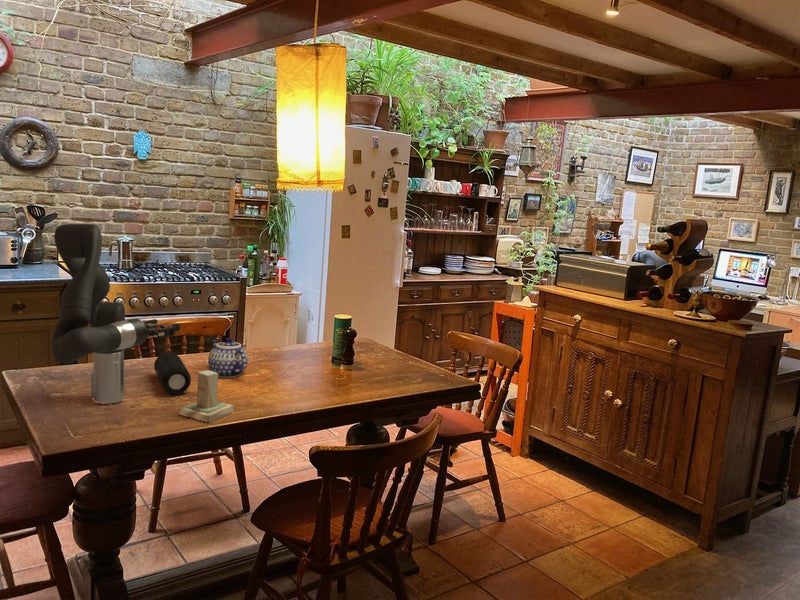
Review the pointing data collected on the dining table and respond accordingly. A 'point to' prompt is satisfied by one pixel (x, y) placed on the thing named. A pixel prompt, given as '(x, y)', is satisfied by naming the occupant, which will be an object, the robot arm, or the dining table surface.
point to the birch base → (206, 411)
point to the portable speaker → (172, 373)
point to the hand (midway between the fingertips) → (167, 324)
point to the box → (207, 388)
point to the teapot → (227, 358)
